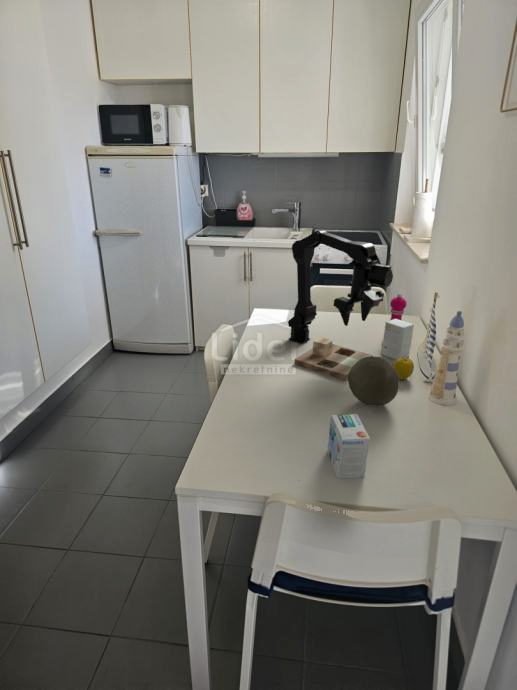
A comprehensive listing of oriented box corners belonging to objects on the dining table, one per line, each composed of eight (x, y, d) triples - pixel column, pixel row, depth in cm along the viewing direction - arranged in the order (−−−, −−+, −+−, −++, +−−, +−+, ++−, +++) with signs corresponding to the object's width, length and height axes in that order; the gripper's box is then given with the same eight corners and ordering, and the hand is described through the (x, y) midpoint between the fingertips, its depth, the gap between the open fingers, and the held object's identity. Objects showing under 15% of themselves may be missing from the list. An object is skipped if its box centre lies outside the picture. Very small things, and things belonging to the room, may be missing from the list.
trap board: (294, 364, 159) (294, 359, 158) (323, 346, 175) (324, 341, 174) (345, 380, 148) (346, 375, 147) (371, 360, 164) (372, 355, 163)
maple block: (312, 353, 163) (313, 341, 161) (319, 349, 167) (320, 337, 165) (324, 357, 160) (325, 344, 158) (331, 353, 164) (332, 340, 162)
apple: (389, 380, 149) (393, 358, 146) (394, 372, 155) (397, 351, 151) (409, 384, 147) (413, 362, 144) (413, 377, 152) (417, 355, 149)
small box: (409, 357, 167) (414, 324, 162) (399, 361, 163) (404, 327, 158) (390, 350, 173) (395, 318, 168) (380, 354, 169) (385, 321, 164)
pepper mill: (404, 340, 182) (411, 292, 174) (399, 346, 176) (406, 297, 169) (386, 336, 186) (393, 289, 178) (381, 342, 180) (387, 294, 172)
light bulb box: (326, 451, 113) (330, 413, 109) (352, 450, 113) (357, 413, 109) (336, 479, 103) (341, 439, 99) (365, 478, 103) (371, 438, 99)
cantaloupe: (363, 388, 143) (368, 345, 138) (403, 405, 134) (411, 359, 128) (336, 404, 134) (341, 358, 128) (378, 423, 125) (385, 374, 119)
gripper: (360, 290, 143) (354, 335, 150) (396, 282, 154) (389, 325, 160) (334, 282, 151) (330, 325, 158) (371, 275, 162) (365, 315, 168)
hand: (354, 323), depth 161 cm, fingers open, 9 cm apart
